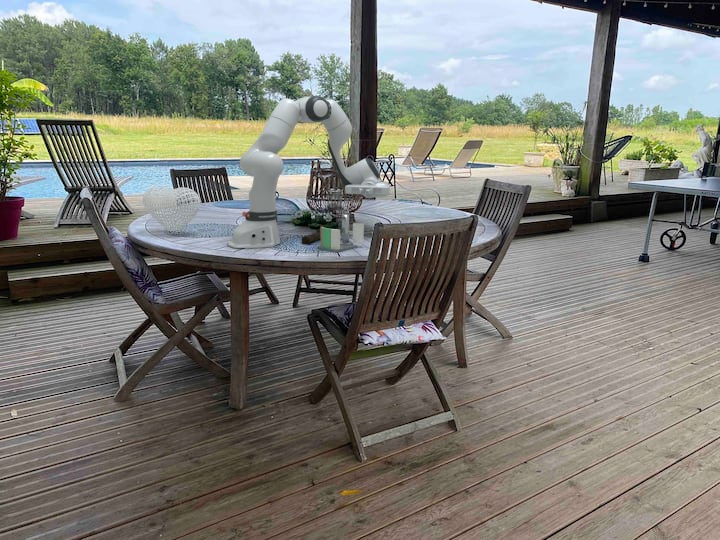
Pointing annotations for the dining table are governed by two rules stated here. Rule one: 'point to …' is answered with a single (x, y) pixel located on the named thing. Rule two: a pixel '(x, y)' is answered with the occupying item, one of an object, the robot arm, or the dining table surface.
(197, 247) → the dining table surface
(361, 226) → the gauge lever
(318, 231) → the hand tool
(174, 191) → the heart
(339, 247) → the base
